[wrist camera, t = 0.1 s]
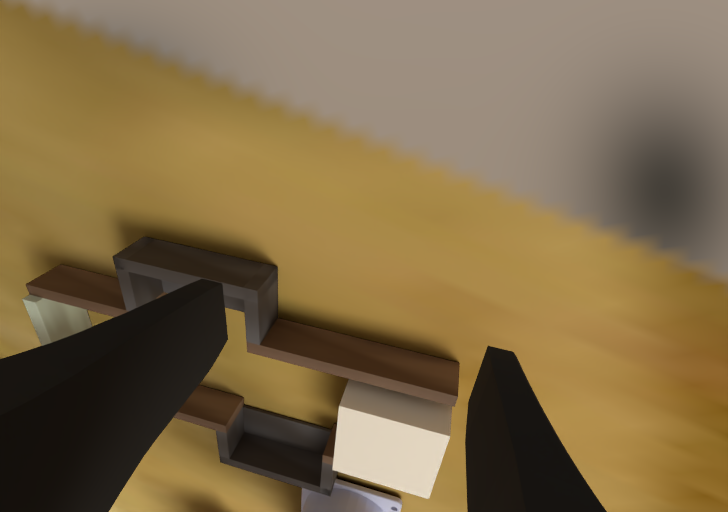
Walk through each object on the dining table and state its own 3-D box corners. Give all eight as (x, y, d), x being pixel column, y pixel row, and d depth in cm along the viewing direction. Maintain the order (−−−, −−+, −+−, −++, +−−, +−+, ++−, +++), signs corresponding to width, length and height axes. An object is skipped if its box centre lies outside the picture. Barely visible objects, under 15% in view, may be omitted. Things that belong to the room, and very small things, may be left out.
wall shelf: (420, 488, 30) (415, 531, 27) (104, 394, 34) (74, 423, 31) (475, 311, 21) (475, 349, 19) (43, 213, 25) (-5, 234, 23)
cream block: (434, 440, 27) (428, 499, 24) (349, 416, 28) (332, 470, 25) (453, 379, 24) (450, 436, 21) (357, 354, 25) (339, 405, 22)
